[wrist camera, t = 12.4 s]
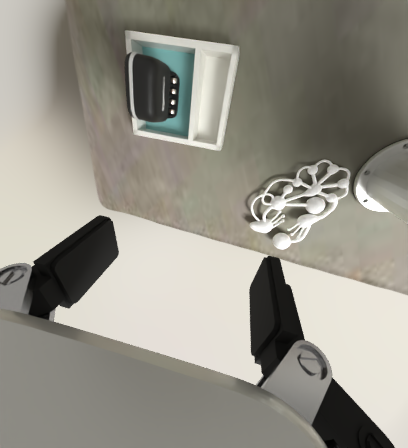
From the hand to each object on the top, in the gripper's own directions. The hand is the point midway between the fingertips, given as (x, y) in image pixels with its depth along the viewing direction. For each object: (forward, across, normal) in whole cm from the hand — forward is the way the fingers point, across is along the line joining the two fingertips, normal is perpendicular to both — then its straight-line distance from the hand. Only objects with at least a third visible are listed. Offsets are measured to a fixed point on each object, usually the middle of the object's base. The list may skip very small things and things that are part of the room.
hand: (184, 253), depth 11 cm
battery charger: (+28, +11, -8) cm, 31 cm away
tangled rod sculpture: (+29, -15, +7) cm, 33 cm away
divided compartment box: (+28, +9, -8) cm, 31 cm away
